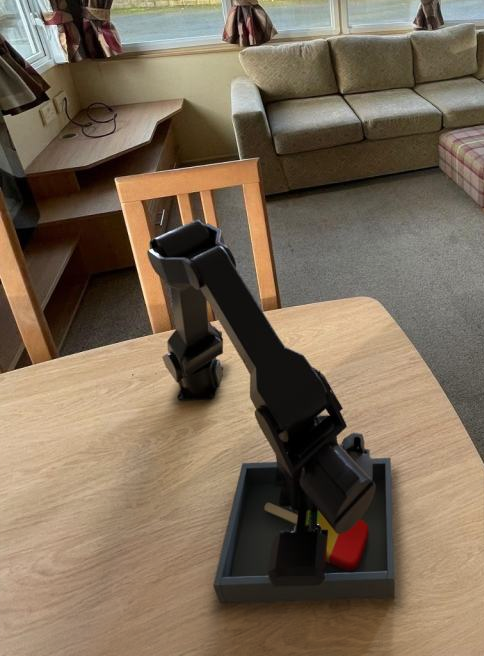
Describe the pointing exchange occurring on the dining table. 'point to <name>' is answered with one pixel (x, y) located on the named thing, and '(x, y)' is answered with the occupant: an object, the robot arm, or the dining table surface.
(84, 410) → the dining table surface
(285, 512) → the popsicle
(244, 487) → the tub
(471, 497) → the dining table surface
